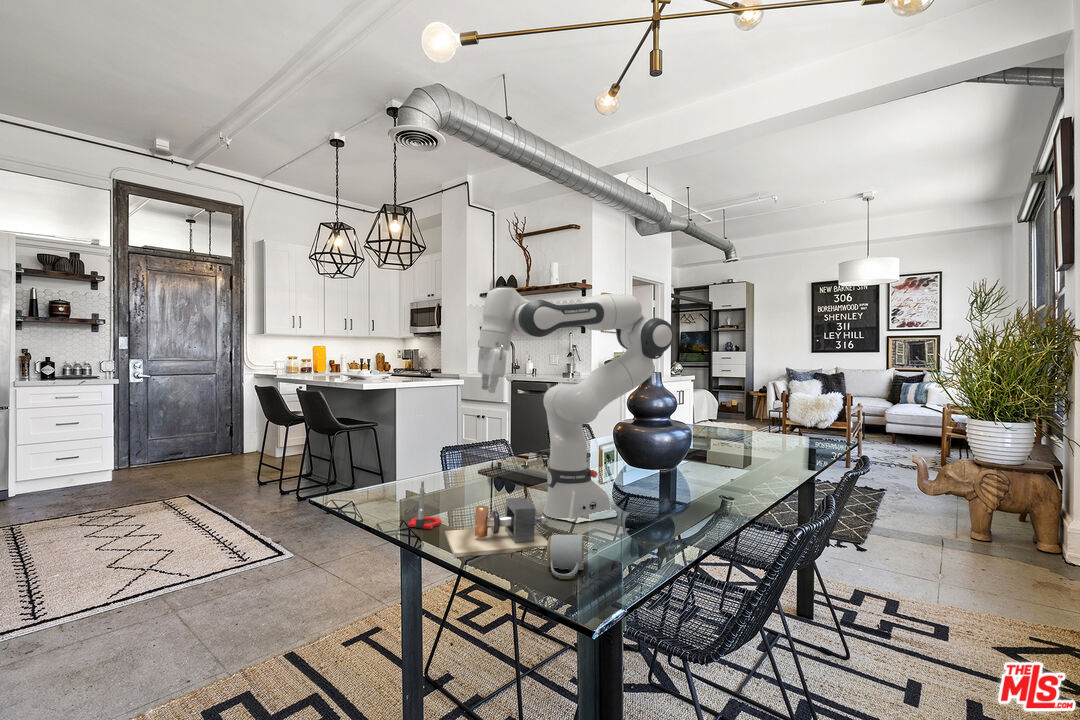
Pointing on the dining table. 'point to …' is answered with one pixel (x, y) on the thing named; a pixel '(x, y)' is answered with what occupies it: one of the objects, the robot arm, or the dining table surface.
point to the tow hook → (420, 520)
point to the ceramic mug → (565, 552)
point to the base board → (488, 542)
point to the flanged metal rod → (496, 521)
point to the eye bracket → (520, 520)
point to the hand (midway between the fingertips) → (487, 391)
